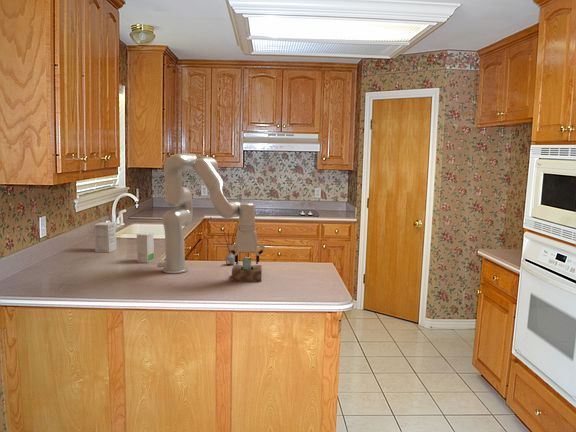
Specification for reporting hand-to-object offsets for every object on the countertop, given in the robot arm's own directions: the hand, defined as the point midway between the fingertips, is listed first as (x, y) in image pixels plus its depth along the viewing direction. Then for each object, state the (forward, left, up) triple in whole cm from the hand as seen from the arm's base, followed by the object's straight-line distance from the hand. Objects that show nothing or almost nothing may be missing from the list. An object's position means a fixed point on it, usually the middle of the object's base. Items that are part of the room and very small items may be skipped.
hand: (247, 263), depth 246 cm
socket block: (0, 0, -7) cm, 7 cm away
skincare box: (-57, +37, -7) cm, 68 cm away
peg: (0, 0, -7) cm, 7 cm away
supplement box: (-87, +65, -8) cm, 109 cm away
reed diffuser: (-9, +29, -7) cm, 31 cm away
